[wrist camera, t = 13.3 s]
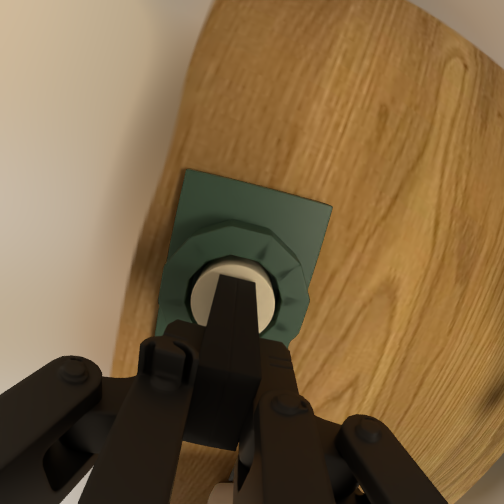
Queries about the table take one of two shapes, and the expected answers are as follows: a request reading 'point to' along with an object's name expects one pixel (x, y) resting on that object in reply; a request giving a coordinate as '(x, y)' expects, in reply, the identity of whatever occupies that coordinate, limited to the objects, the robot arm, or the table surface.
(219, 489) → the alarm clock
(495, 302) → the table surface
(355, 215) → the table surface
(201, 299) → the button
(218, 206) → the control block
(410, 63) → the table surface
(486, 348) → the table surface
